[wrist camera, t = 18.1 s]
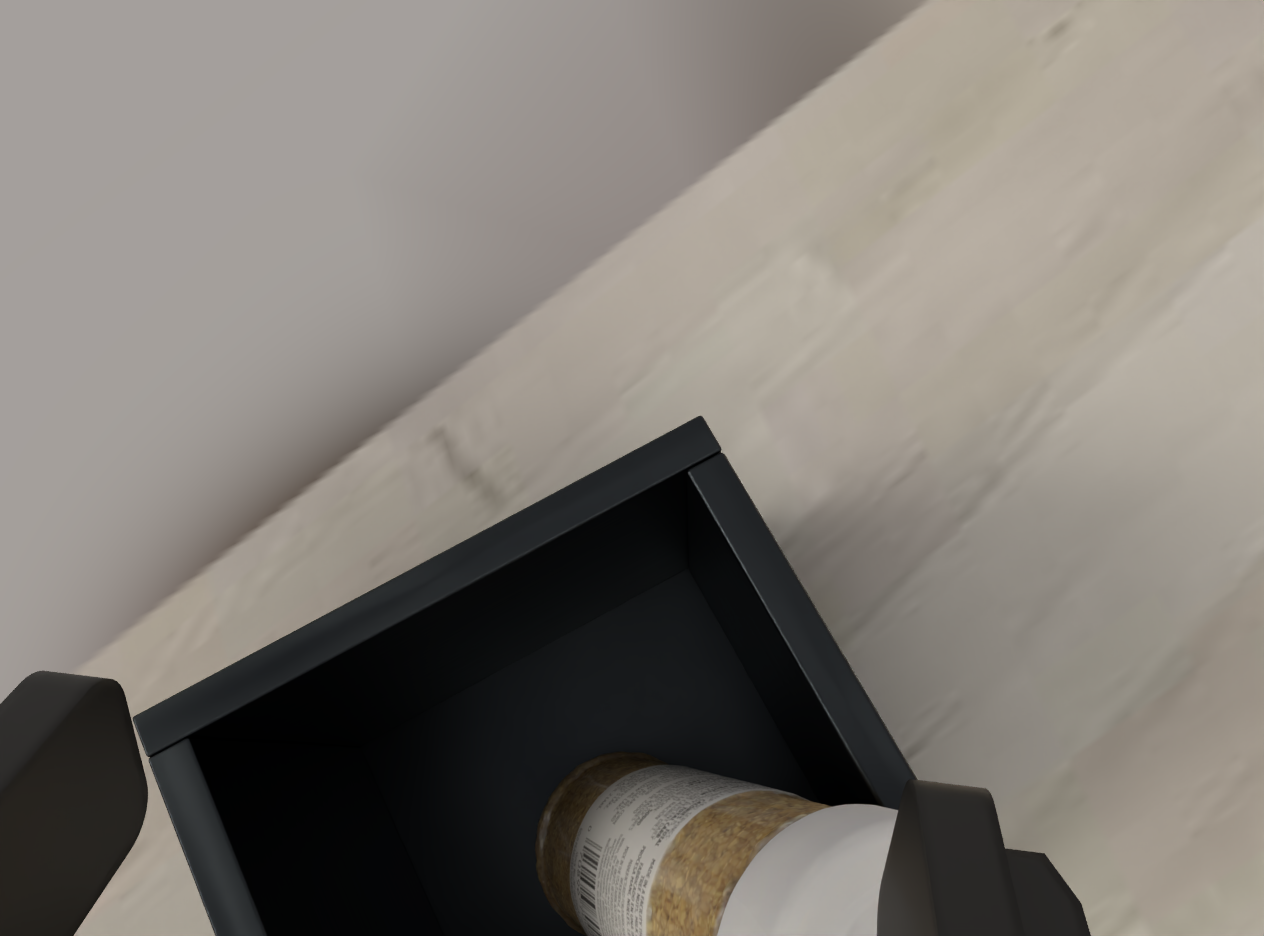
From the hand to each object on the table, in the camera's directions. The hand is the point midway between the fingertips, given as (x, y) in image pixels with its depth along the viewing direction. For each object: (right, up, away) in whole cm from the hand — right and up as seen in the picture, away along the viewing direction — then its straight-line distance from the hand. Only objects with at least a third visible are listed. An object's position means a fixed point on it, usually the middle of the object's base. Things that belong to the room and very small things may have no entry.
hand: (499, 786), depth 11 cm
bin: (+1, -6, +17) cm, 18 cm away
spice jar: (+1, -6, +16) cm, 17 cm away
